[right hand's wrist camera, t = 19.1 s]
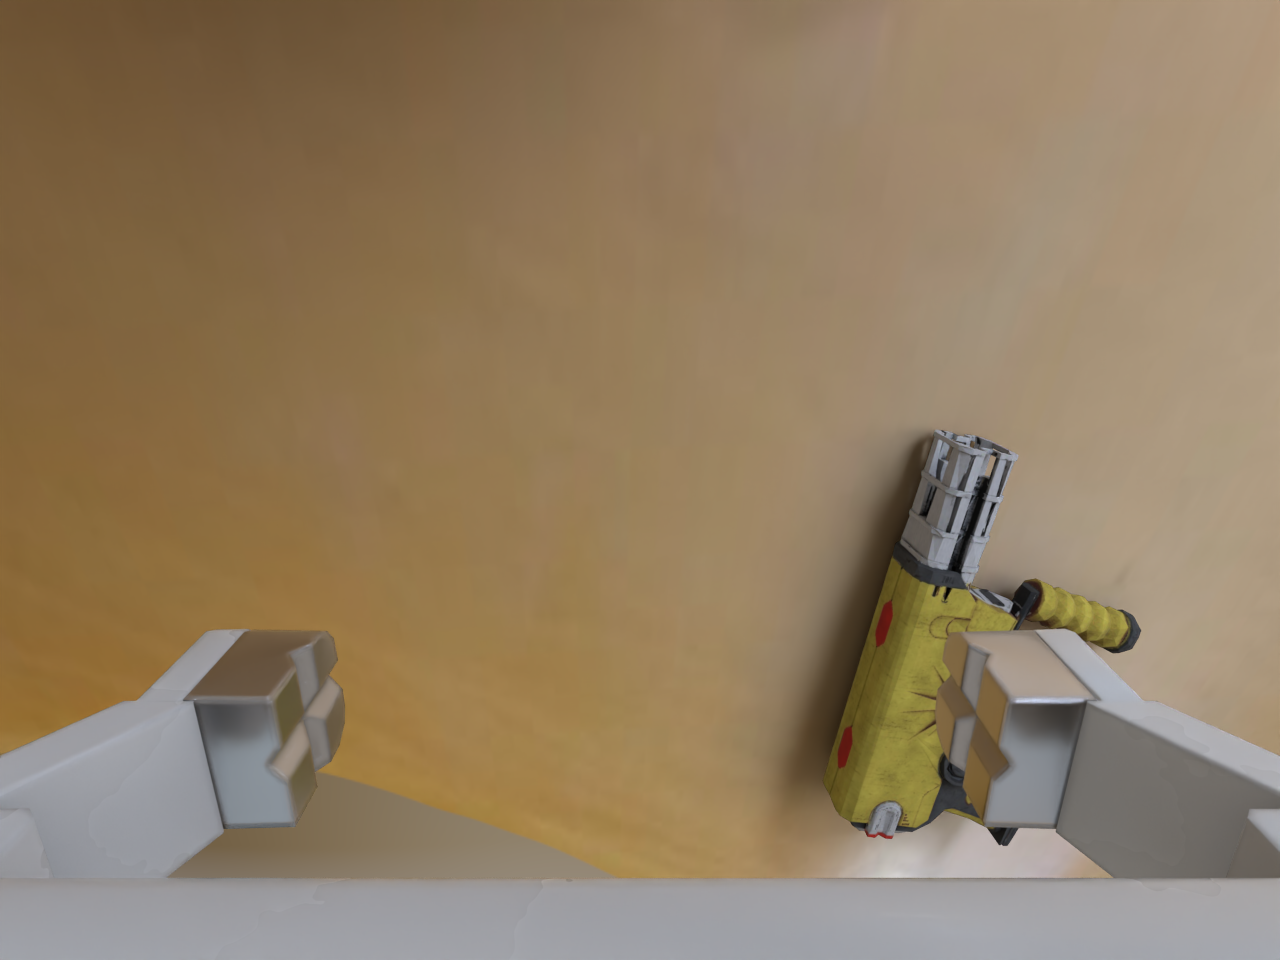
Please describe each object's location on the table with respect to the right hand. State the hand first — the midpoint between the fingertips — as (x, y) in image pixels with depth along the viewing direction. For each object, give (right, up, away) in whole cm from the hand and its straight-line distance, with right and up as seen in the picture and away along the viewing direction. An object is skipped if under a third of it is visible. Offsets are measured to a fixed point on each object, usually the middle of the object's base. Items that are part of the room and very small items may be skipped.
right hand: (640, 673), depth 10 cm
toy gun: (+21, -7, +36) cm, 42 cm away
